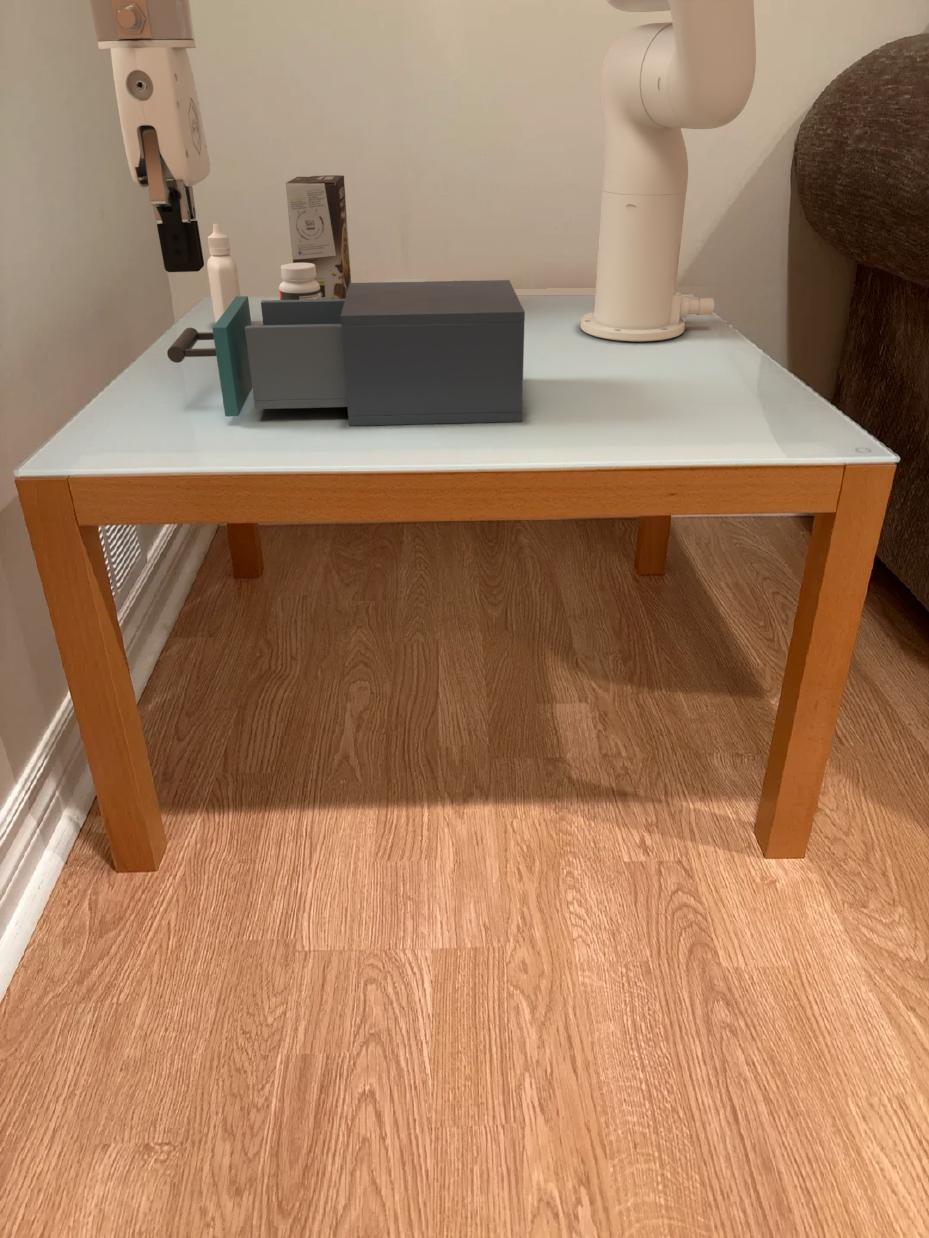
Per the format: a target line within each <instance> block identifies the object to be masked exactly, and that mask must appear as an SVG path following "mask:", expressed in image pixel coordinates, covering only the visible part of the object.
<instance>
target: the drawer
mask: <svg viewBox="0 0 929 1238" xmlns="http://www.w3.org/2000/svg"><path fill="white" fill-rule="evenodd" d="M344 302H345V299H312V300H280V299H271V300H270V299H268V300H267V299H266V300H261V301H260V308H261V316H262V325H252V318H251V317H252V316H251V310H250V309H251V308H250V302H249V296H247V295H241V296H236V297H235V298H234V300H233V301H232V302H231V304H230V305H229V306H228V308H227V309H226V310H225V312H224V313H223V314H222V316H221V317H220V318H219V320H218V321H217V322H216V324H215V323H214V325H213V326H212V328H211V329H212V331H211V332H209V331H207V332H206V331H205V332H198V330H197V329H196V328H194V327H187V328H185V329H184V330H183V331H182V332H181V334H179V336H178V337H177V338H176V339H175V341H174V342H173V343H172V344H171V346H170V347H169V348H168V349H167V354H166V355H167V358H168V359H169V360H170V361H171V362H172V363H174V364H175V363H176V364H178V363H181V362H183V361H184V360H185V358H200V357H201V358H205V357H206V358H207V357H210V358H211V357H216V362H217V368H218V375H219V383H220V389H221V395H222V396H221V398H222V404H223V409H224V410H223V411H224V416H225V417H239V416H240V415H241V412H242V410H243V408H244V406H245V403H246V401H247V400H248V397H249V395H250V393H251V391H252V395H253V396H252V397H253V403H254V409H255V410H274V409H275V410H276V409H277V410H279V409H317V408H318V409H319V408H321V409H322V408H348V407H347V394H346V381H345V367H344V354H343V340H342V325H341V313H342V309H343V305H344ZM199 341H213V342H214V347H213V348H212V347H211V348H194V346H196V344H197V342H199Z"/></svg>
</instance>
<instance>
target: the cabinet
mask: <svg viewBox="0 0 929 1238" xmlns="http://www.w3.org/2000/svg"><path fill="white" fill-rule="evenodd" d="M525 314H526V312H525V310H524V308H523V305H522V304H521V301H520V299H519V297H518V295H517V293H516V291H515V288H514V287H513V285H512V283H511V281H510V280H509V279H498V280H497V279H495V280H494V279H492V280H491V279H490V280H489V279H487V280H442V281H441V280H440V281H438V280H437V281H436V280H435V281H381V282H377V281H376V282H351V283H349V287H348V291H347V294H346V298H345V302H344V305H343V309H342V313H341V325H342V340H343V354H344V367H345V381H346V394H347V407H346V408H347V419H348V426H349V427H352V426H353V427H357V426H359V427H360V426H394V425H395V426H396V425H397V426H398V425H399V426H400V425H433V424H435V425H436V424H437V425H438V424H439V425H440V424H475V423H476V424H477V423H479V424H481V423H482V424H483V423H517V422H522V421H523V395H524V394H523V392H524V391H523V390H524V357H525V356H524V355H525V353H524V352H525V318H526V317H525V316H526V315H525Z"/></svg>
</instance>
